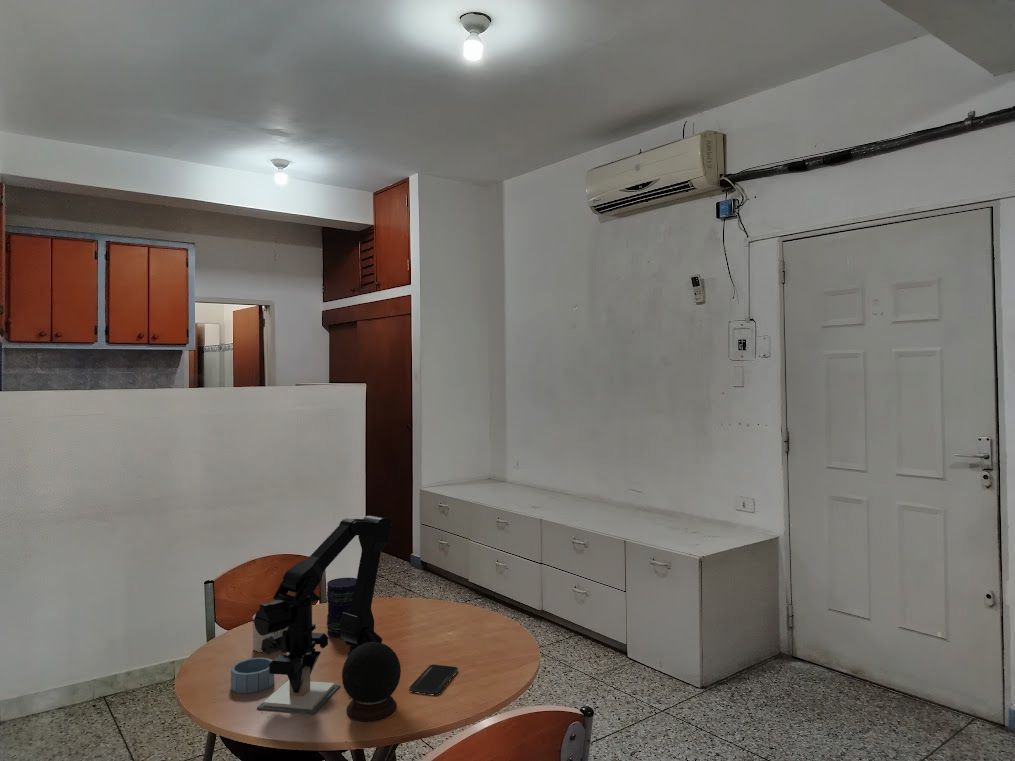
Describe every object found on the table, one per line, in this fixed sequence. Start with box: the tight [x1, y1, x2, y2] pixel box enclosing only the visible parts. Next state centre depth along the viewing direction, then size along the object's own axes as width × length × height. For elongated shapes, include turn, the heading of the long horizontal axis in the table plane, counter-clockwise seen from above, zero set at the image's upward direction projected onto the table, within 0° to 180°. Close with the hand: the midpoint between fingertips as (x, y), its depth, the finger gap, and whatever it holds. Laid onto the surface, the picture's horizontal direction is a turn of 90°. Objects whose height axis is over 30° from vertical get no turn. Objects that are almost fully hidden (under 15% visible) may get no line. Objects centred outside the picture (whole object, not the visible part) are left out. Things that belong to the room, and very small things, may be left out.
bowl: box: [230, 656, 275, 694], centre depth 169 cm, size 10×10×4 cm
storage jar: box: [326, 577, 357, 639], centre depth 204 cm, size 10×10×15 cm
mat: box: [256, 680, 341, 715], centre depth 162 cm, size 14×14×1 cm
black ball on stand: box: [341, 642, 402, 723], centre depth 155 cm, size 13×13×15 cm
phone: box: [409, 664, 459, 696], centre depth 170 cm, size 8×1×15 cm
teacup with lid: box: [251, 613, 284, 653], centre depth 194 cm, size 12×9×12 cm
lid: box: [262, 666, 335, 710], centre depth 162 cm, size 12×12×6 cm
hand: (299, 688), depth 162 cm, fingers closed on lid, 3 cm apart
